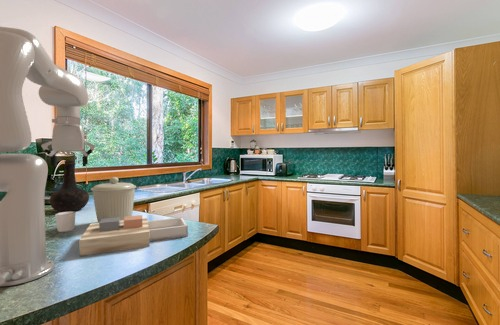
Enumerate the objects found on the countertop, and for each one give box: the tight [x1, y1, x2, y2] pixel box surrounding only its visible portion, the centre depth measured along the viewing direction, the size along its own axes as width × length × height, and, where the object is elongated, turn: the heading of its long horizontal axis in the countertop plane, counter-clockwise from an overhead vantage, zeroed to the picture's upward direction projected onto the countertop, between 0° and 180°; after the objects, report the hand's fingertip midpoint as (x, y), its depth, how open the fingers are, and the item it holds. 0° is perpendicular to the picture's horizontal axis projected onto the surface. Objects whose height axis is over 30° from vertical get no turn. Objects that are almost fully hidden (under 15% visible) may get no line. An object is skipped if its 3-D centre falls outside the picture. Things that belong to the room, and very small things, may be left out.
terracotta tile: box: [124, 214, 143, 229], centre depth 93 cm, size 6×6×3 cm
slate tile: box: [99, 217, 120, 232], centre depth 90 cm, size 6×6×3 cm
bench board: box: [78, 217, 150, 257], centre depth 91 cm, size 20×20×5 cm
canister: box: [90, 176, 137, 223], centre depth 114 cm, size 18×18×21 cm
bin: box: [148, 217, 189, 242], centre depth 100 cm, size 14×14×4 cm
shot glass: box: [55, 211, 77, 233], centre depth 105 cm, size 7×7×7 cm
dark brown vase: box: [49, 160, 90, 213], centre depth 140 cm, size 18×18×28 cm
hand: (69, 166), depth 99 cm, fingers open, 9 cm apart
